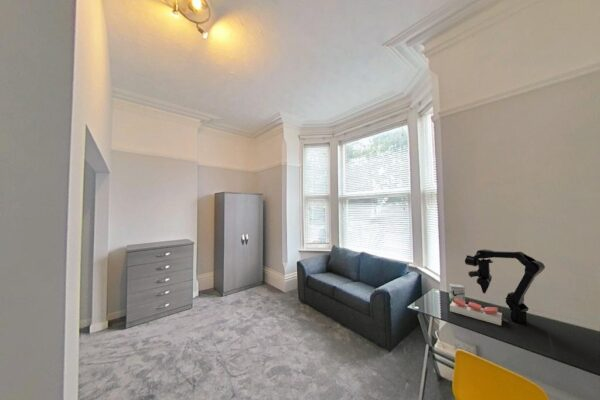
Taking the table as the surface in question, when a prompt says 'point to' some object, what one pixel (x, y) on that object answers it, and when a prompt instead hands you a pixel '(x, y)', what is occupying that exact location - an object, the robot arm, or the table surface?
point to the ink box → (456, 292)
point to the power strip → (477, 313)
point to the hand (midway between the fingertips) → (484, 291)
